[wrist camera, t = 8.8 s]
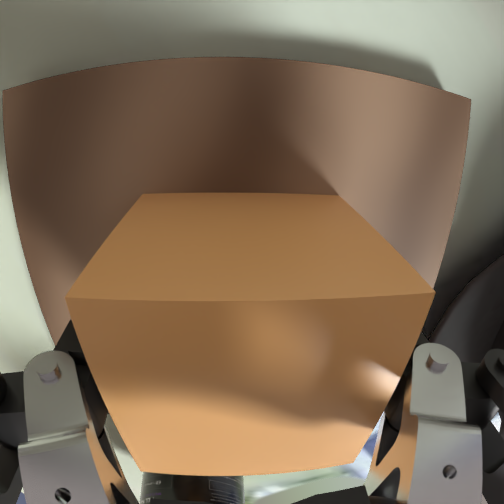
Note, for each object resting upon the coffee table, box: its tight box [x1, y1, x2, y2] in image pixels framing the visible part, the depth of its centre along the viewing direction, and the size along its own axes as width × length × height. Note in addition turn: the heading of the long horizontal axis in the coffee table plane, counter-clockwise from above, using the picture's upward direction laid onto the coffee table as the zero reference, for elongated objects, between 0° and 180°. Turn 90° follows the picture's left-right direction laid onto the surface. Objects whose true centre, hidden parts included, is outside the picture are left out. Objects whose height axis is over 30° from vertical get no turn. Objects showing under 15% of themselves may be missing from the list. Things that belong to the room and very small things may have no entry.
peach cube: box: [65, 193, 436, 476], centre depth 8 cm, size 6×6×6 cm
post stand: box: [3, 57, 471, 346], centre depth 10 cm, size 16×14×6 cm
